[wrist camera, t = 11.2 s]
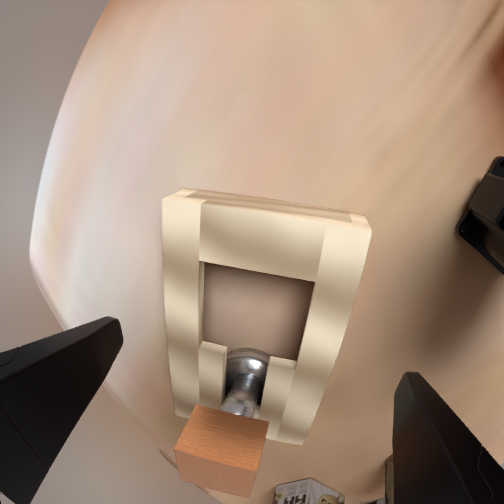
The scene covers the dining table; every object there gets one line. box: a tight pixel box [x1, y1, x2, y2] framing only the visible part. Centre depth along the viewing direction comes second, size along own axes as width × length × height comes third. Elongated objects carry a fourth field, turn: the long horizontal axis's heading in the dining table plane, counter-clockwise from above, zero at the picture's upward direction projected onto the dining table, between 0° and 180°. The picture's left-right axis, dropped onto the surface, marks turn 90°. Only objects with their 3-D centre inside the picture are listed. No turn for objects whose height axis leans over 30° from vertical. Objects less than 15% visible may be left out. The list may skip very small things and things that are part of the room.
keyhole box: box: [162, 188, 372, 445], centre depth 22 cm, size 20×12×4 cm, turn 175°
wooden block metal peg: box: [174, 348, 271, 498], centre depth 21 cm, size 5×5×11 cm
